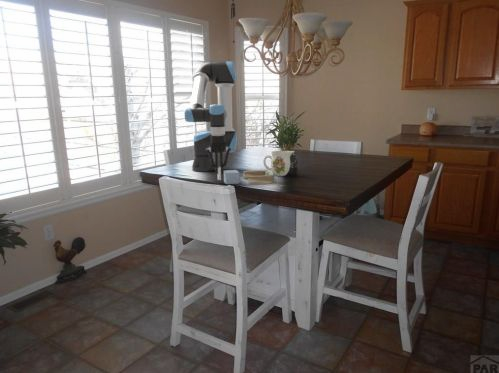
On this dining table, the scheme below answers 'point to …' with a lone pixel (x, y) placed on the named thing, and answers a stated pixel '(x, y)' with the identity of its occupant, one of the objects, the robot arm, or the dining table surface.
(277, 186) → the dining table surface
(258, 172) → the dock
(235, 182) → the keeper
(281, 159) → the pitcher
